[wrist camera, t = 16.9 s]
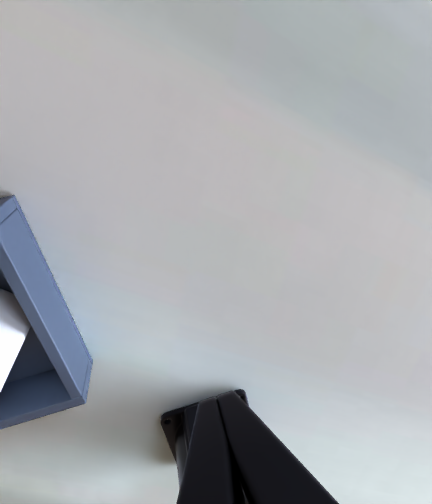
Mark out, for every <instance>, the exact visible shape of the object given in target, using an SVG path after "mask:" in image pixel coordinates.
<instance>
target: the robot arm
mask: <svg viewBox="0 0 432 504" xmlns="http://www.w3.org/2000/svg"><path fill="white" fill-rule="evenodd" d="M239 396H240V397H239ZM167 419H168V420H167ZM161 425H162V428H163V430H164V433H165V435H166V438H167V440H168V443H169V445H170V448H171V450H172V453H173V455H174V458H175V461H176V463H177V469H178V478H179V487H180V490H179V495H178V499H177V504H339V503H338V502H337V501H336V500H335V499H334V498H333V497H332V496H331V495H330V494H329V492H328V491H327V490H326V489H325V488H324V487H323V486H322V485H321V484H320V483H319V482H318V481H317V480H316V478H315V477H314V476H313V475H312V474H311V473H310V472H309V471H308V470H307V469H306V468H305V467H304V466H303V464H302V463H301V462H300V461H299V460H298V459H297V458H296V457H295V456H294V455H293V454H292V453H291V452H290V450H289V449H288V448H287V447H286V446H285V445H284V444H283V443H282V442H281V441H280V440H279V439H278V438H277V437H276V435H275V434H274V433H273V432H272V431H271V430H270V429H269V428H268V427H267V426H266V425H265V424H264V423H263V421H262V420H261V419H260V418H259V417H258V416H257V415H256V414H255V413H254V412H253V411H252V410H251V409H250V407H249V405H248V400H247V396H246V393H245V391H244V390H242V389H239V390H235V391H229V392H226V393H223V394H220V395H218V396H216V397H211V398H208V399H205V400H202V401H200V402H197V403H194V404H191V405H188V406H185V407H182V408H178V409H175V410H172V411H169V412H166V413H164V414H162V415H161Z"/></svg>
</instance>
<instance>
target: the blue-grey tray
mask: <svg viewBox="0 0 432 504" xmlns="http://www.w3.org/2000/svg"><path fill="white" fill-rule="evenodd" d="M0 288H1V289H3V290H5V291H8V292H10V293H12V294H14V295H15V297H16V299H17V300H18V302H19V304H20V306H21V308H22V310H23V311H24V313H25V315H26V317H27V319H28V320H29V322H30V324H31V327H30V329H29V331H28V333H27V336H26V338H25V340H24V342H23V344H22V346H21V348H20V351H19V353H18V355H17V357H16V359H15V361H14V364H13V366H12V368H11V370H10V372H9V374H8V376H7V379H6V381H5V383H4V385H3V387H2V389H1V392H0V429H4V428H7V427H10V426H14V425H17V424H20V423H23V422H27V421H30V420H33V419H36V418H40V417H43V416H46V415H50V414H53V413H56V412H59V411H63V410H66V409H69V408H72V407H76V406H79V405H82V404H85V403H86V399H87V393H88V387H89V381H90V375H91V369H92V364H93V360H92V358H91V356H90V354H89V352H88V350H87V348H86V345H85V343H84V341H83V339H82V337H81V335H80V333H79V331H78V328H77V326H76V324H75V322H74V320H73V318H72V316H71V314H70V312H69V309H68V307H67V305H66V303H65V301H64V299H63V297H62V295H61V292H60V290H59V288H58V286H57V284H56V282H55V280H54V278H53V275H52V273H51V271H50V269H49V267H48V265H47V263H46V261H45V259H44V256H43V254H42V252H41V250H40V248H39V246H38V244H37V242H36V239H35V237H34V235H33V233H32V231H31V229H30V227H29V225H28V223H27V220H26V218H25V216H24V214H23V212H22V210H21V208H20V206H19V203H18V201H17V199H16V197H15V195H11V196H7V197H3V198H0Z"/></svg>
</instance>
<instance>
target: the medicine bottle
mask: <svg viewBox="0 0 432 504" xmlns="http://www.w3.org/2000/svg"><path fill="white" fill-rule="evenodd" d="M30 327H31V324H30V322H29V320H28V319H27V317H26V315H25V313H24V311H23V310H22V308H21V306H20V304H19V302H18V300H17V299H16V297H15V295H14V294H12V293H10V292H8V291H5V290H3V289H1V288H0V392H1V389H2V387H3V385H4V383H5V381H6V379H7V376H8V374H9V372H10V370H11V368H12V366H13V364H14V361H15V359H16V357H17V355H18V353H19V351H20V348H21V346H22V344H23V342H24V340H25V338H26V336H27V333H28V331H29V329H30Z"/></svg>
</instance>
